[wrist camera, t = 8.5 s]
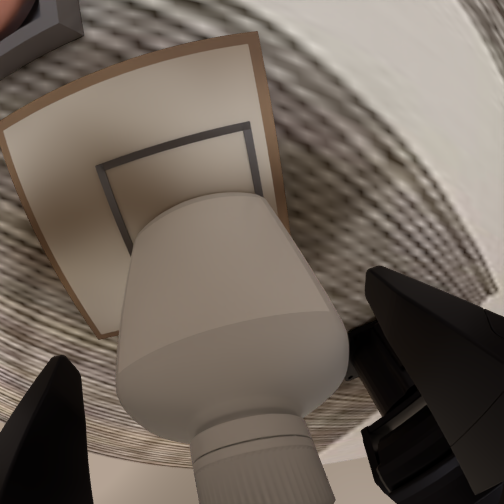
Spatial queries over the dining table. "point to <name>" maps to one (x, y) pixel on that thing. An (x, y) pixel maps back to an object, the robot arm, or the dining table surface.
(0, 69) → the button housing
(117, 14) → the dining table surface
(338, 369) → the eye dropper bottle
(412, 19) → the dining table surface
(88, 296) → the board
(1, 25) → the button
